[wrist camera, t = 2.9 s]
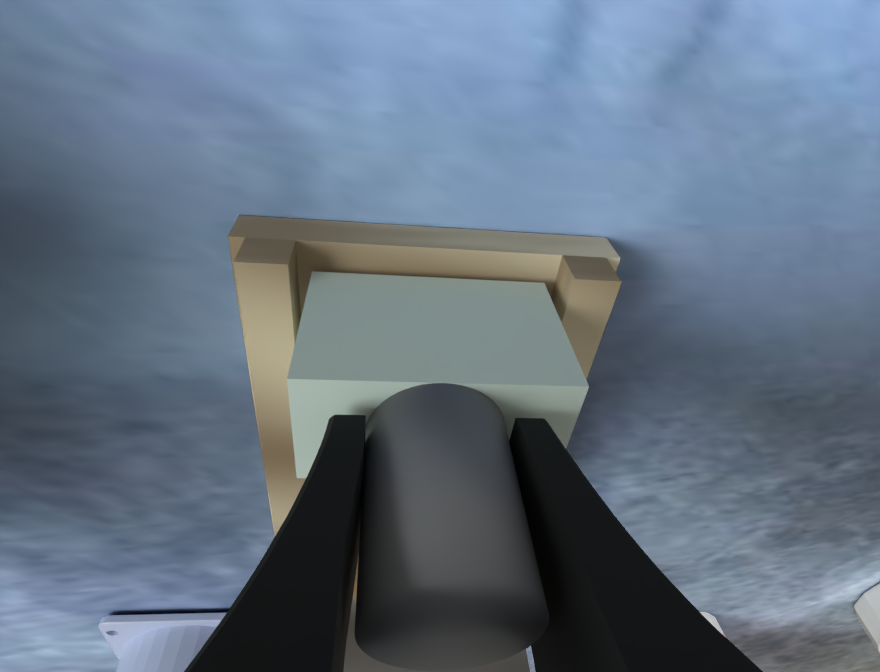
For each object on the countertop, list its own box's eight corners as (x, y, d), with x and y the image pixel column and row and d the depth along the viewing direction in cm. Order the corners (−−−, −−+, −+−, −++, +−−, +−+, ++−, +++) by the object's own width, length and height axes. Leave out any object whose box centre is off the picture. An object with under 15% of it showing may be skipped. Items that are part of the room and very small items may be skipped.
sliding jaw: (522, 368, 16) (609, 664, 9) (316, 362, 15) (261, 678, 9) (544, 283, 14) (671, 577, 8) (312, 271, 13) (238, 585, 7)
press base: (499, 571, 26) (524, 722, 21) (288, 575, 25) (263, 735, 20) (606, 237, 15) (711, 388, 10) (239, 215, 14) (154, 373, 9)
